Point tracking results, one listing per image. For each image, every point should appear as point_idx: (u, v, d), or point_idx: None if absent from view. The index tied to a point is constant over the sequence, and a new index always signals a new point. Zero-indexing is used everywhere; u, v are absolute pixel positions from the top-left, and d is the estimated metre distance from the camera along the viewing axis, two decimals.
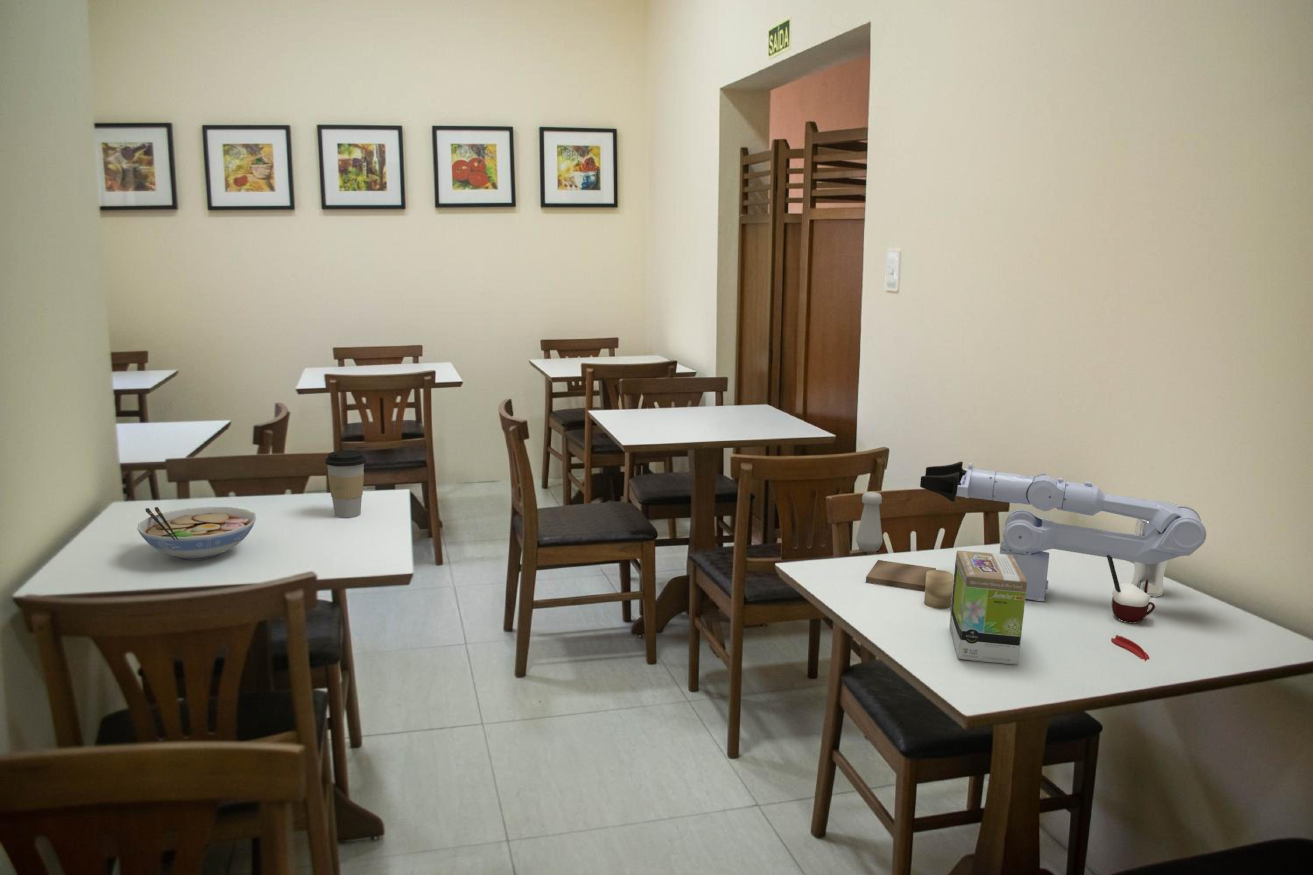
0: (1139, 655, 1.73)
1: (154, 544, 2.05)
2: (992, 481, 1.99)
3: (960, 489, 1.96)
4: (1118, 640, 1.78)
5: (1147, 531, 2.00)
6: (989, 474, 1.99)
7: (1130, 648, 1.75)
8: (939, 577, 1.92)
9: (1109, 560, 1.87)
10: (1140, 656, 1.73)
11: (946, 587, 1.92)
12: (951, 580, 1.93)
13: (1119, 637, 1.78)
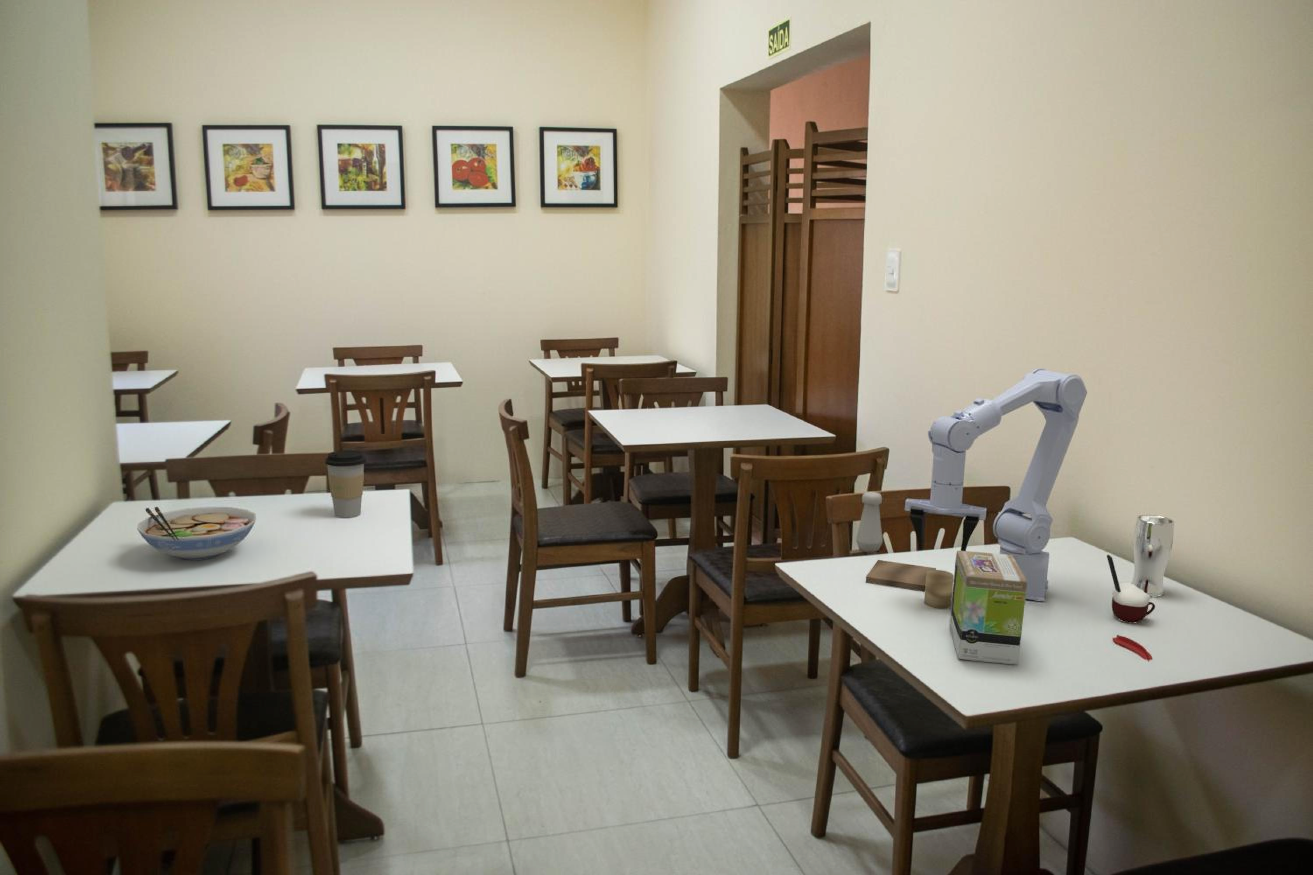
0: (1142, 655, 1.73)
1: (154, 544, 2.05)
2: (959, 486, 1.88)
3: (985, 516, 1.89)
4: (1120, 640, 1.78)
5: (1147, 531, 2.00)
6: (952, 490, 1.88)
7: (1132, 648, 1.75)
8: (939, 577, 1.92)
9: (1109, 560, 1.87)
10: (1143, 656, 1.73)
11: (946, 587, 1.92)
12: (951, 580, 1.93)
13: (1121, 637, 1.78)
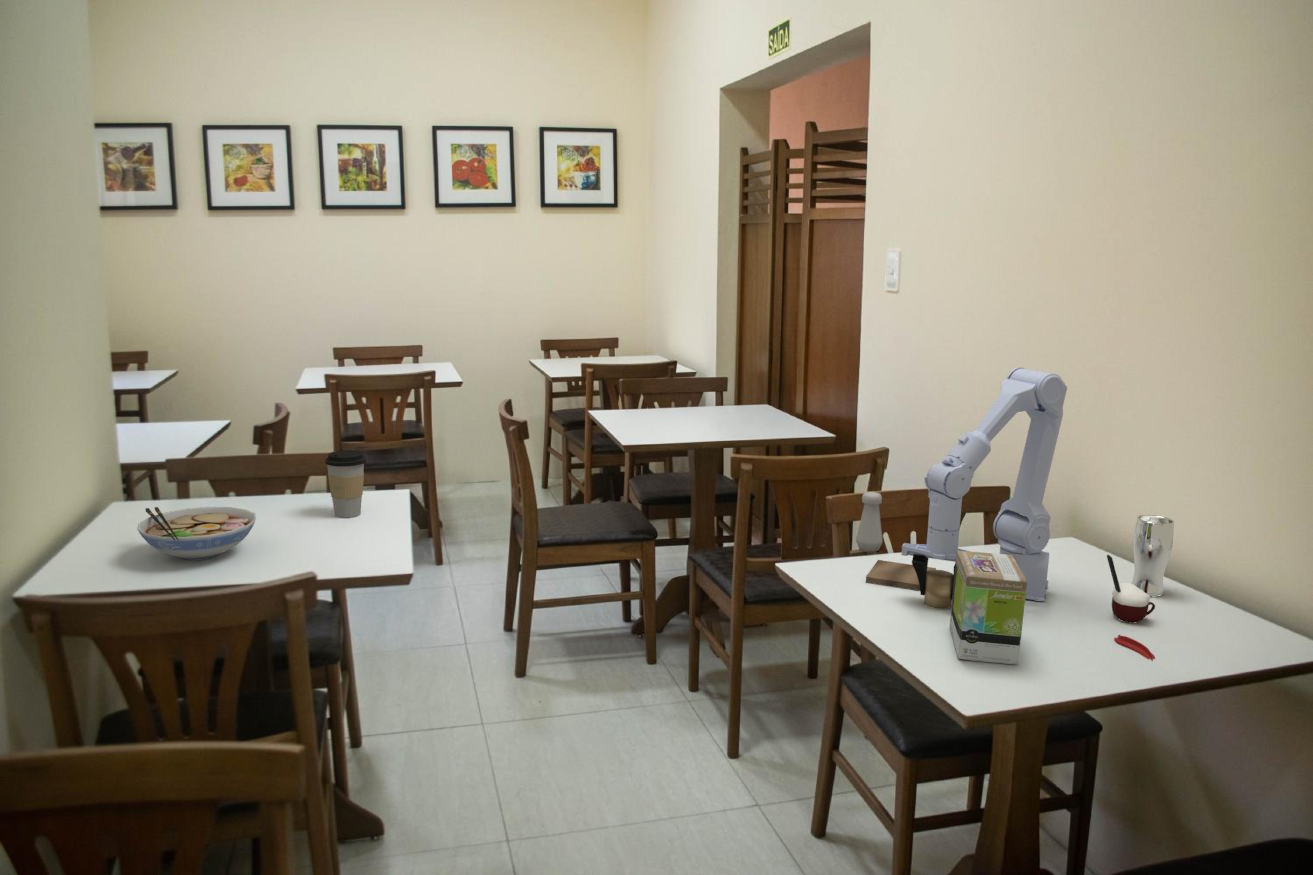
0: (1145, 655, 1.73)
1: (154, 544, 2.05)
2: (955, 532, 1.90)
3: None
4: (1122, 640, 1.78)
5: (1147, 531, 2.00)
6: (948, 536, 1.90)
7: (1135, 648, 1.76)
8: (939, 577, 1.92)
9: (1109, 560, 1.87)
10: (1146, 656, 1.73)
11: (946, 587, 1.92)
12: (951, 580, 1.93)
13: (1123, 637, 1.78)
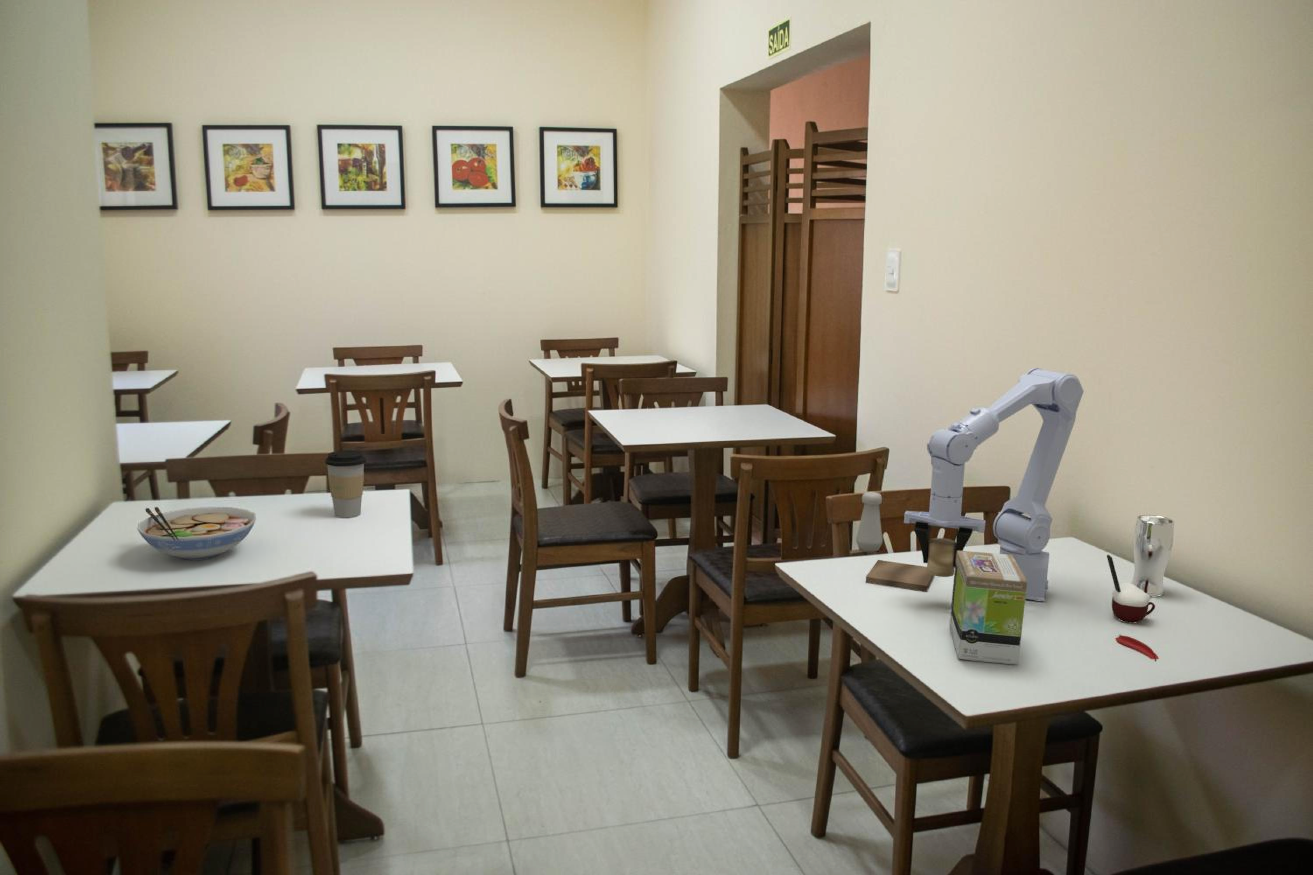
0: (1148, 655, 1.73)
1: (154, 544, 2.05)
2: (958, 498, 1.89)
3: (984, 529, 1.89)
4: (1123, 640, 1.78)
5: (1147, 531, 2.00)
6: (951, 503, 1.88)
7: (1137, 648, 1.76)
8: (941, 545, 1.91)
9: (1109, 560, 1.87)
10: (1149, 656, 1.73)
11: (949, 554, 1.91)
12: (954, 548, 1.91)
13: (1124, 637, 1.78)
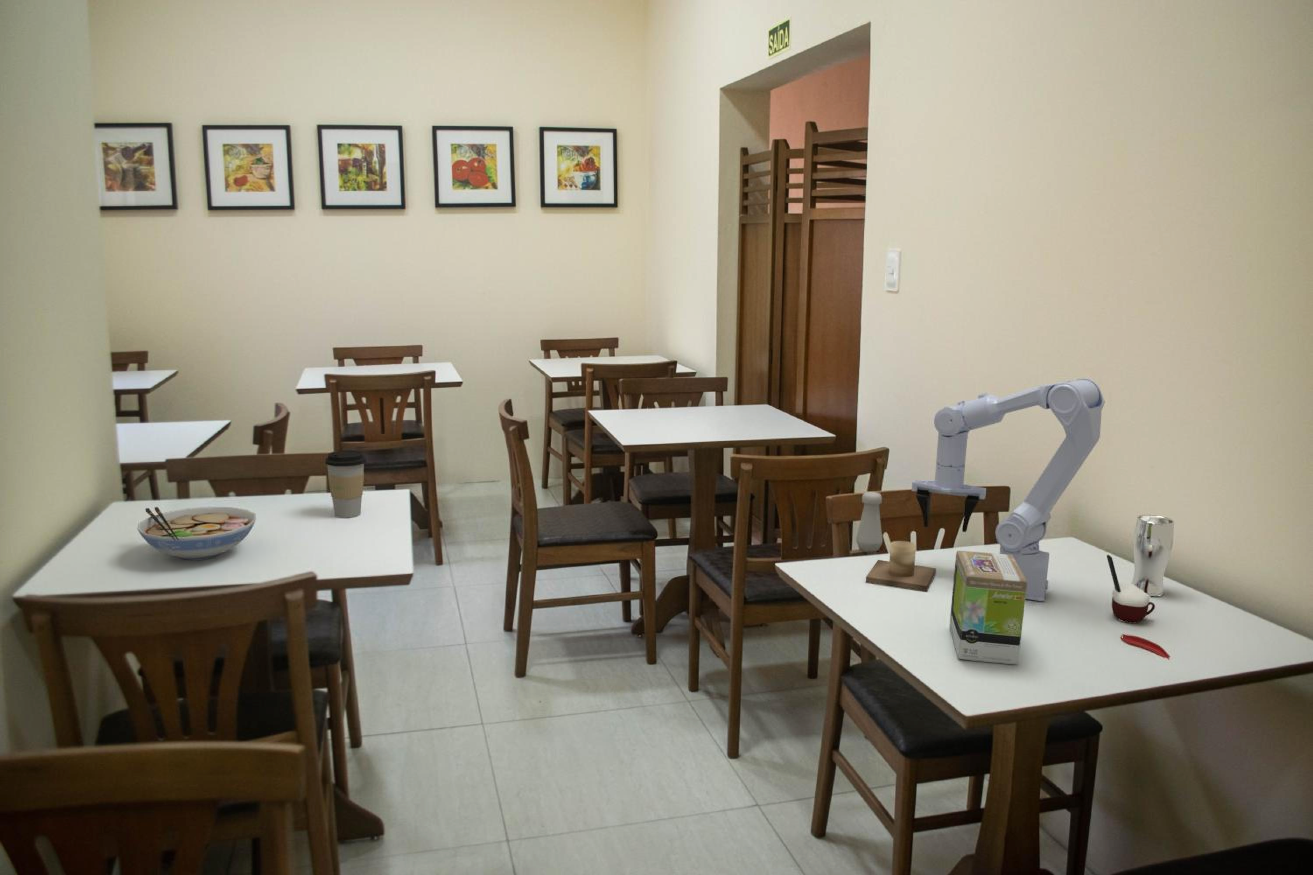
0: (1159, 653, 1.74)
1: (154, 544, 2.05)
2: (961, 468, 2.07)
3: (984, 495, 2.08)
4: (1130, 639, 1.79)
5: (1147, 531, 2.00)
6: (955, 472, 2.07)
7: (1146, 647, 1.76)
8: (903, 547, 2.06)
9: (1109, 560, 1.87)
10: (1161, 654, 1.74)
11: (910, 556, 2.06)
12: (914, 549, 2.06)
13: (1131, 636, 1.79)
